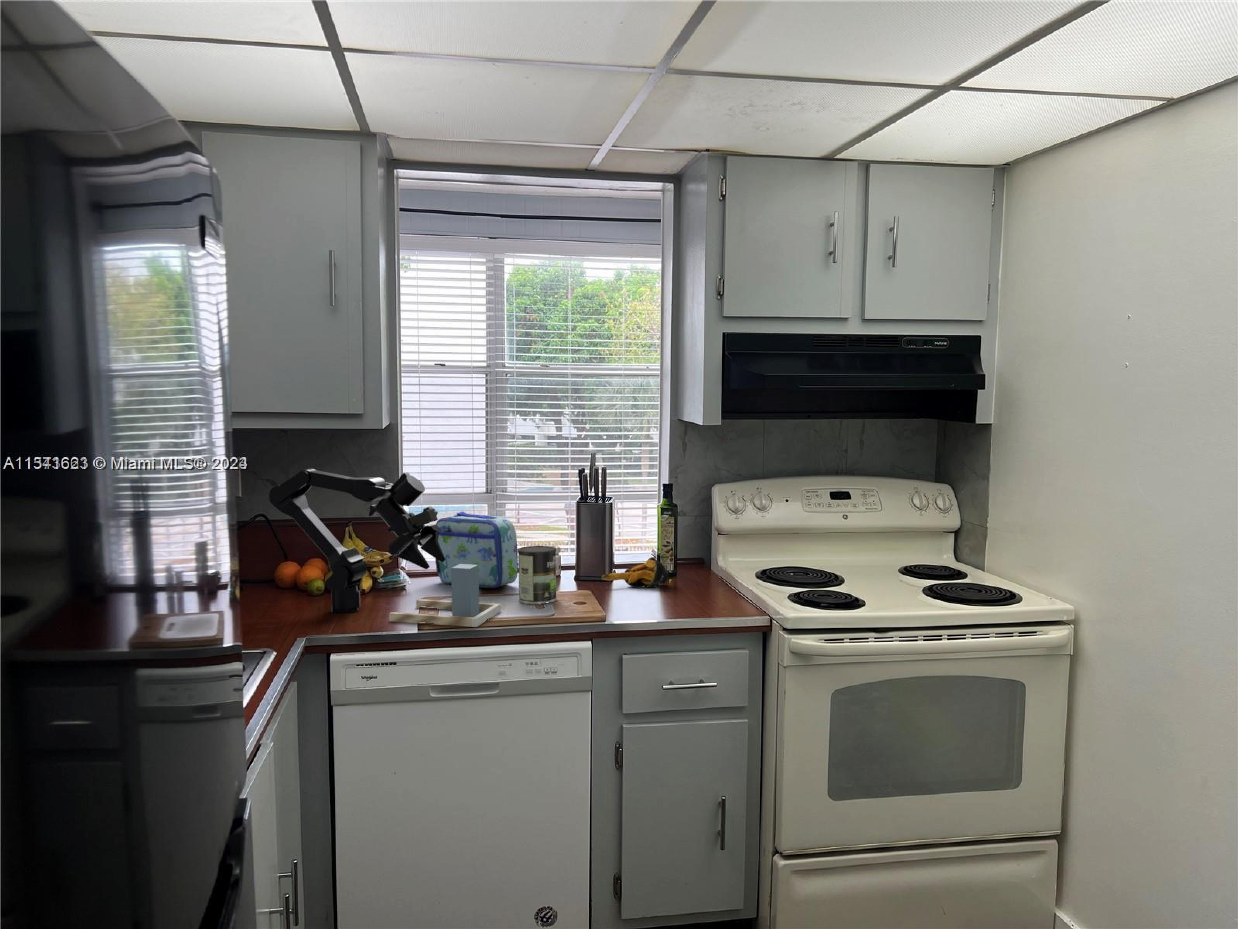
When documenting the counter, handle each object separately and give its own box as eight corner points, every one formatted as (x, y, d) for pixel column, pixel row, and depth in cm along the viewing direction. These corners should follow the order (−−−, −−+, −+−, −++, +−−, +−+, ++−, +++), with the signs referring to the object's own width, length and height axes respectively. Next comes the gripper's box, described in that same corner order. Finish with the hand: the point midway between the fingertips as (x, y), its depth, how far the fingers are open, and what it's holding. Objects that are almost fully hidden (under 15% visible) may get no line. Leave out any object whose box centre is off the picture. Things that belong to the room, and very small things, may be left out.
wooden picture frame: (389, 621, 214) (389, 613, 214) (418, 606, 229) (418, 599, 229) (476, 627, 209) (476, 618, 208) (500, 611, 223) (500, 603, 223)
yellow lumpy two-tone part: (677, 572, 248) (621, 557, 241) (660, 603, 251) (604, 589, 244) (668, 555, 256) (613, 540, 249) (652, 585, 259) (598, 571, 252)
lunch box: (430, 583, 258) (428, 512, 257) (456, 576, 267) (454, 508, 265) (496, 593, 244) (495, 519, 242) (521, 586, 253) (520, 514, 251)
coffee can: (561, 596, 240) (560, 545, 238) (550, 605, 230) (550, 552, 228) (525, 595, 242) (524, 544, 241) (513, 603, 232) (512, 551, 230)
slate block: (452, 619, 216) (451, 567, 215) (461, 614, 221) (459, 564, 219) (471, 620, 214) (469, 568, 213) (479, 615, 219) (478, 564, 218)
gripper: (400, 501, 210) (442, 550, 208) (434, 493, 228) (472, 538, 226) (370, 531, 212) (411, 580, 211) (406, 520, 230) (443, 565, 229)
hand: (436, 564), depth 219 cm, fingers open, 9 cm apart
